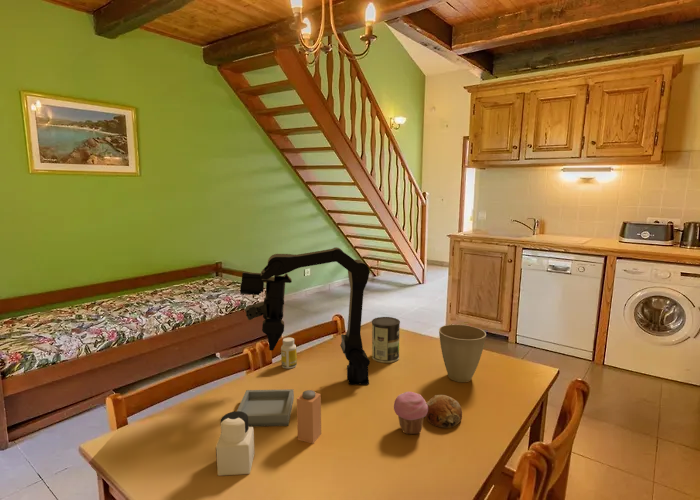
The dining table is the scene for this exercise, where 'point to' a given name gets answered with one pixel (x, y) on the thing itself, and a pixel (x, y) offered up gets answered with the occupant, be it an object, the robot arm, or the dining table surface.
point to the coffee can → (385, 339)
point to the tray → (267, 407)
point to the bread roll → (444, 411)
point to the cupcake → (410, 411)
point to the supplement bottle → (288, 353)
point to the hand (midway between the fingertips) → (271, 344)
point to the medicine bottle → (235, 445)
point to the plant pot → (461, 350)
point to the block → (309, 416)
